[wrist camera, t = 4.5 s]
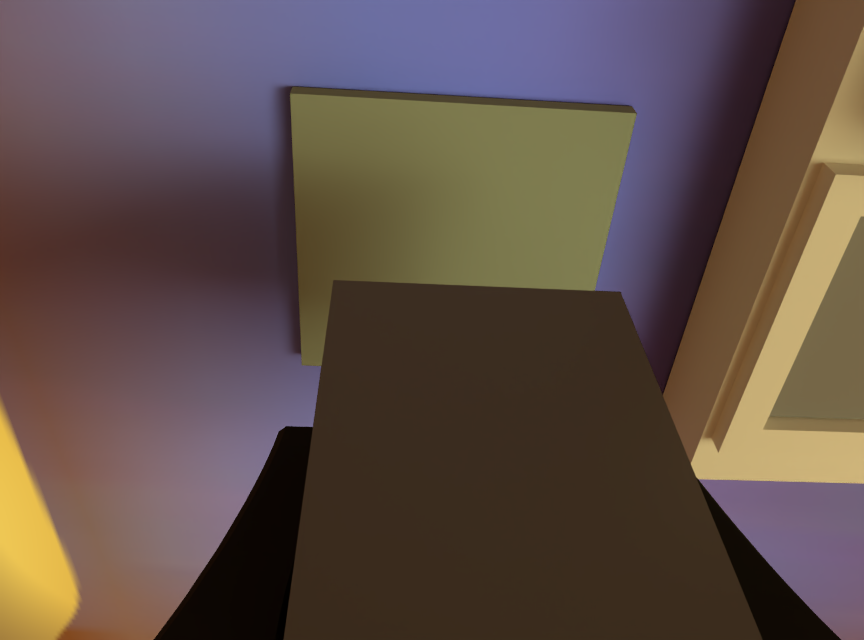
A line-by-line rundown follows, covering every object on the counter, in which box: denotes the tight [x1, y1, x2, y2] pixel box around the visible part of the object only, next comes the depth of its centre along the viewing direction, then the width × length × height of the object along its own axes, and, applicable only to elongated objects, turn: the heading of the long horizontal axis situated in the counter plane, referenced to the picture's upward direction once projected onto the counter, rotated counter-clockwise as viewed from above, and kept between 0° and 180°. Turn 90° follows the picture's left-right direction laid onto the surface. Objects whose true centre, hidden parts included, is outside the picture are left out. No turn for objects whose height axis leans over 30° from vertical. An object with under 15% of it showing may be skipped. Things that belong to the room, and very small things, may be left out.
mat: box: [290, 87, 637, 366], centre depth 17 cm, size 7×7×1 cm
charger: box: [284, 280, 762, 640], centre depth 11 cm, size 4×4×6 cm
